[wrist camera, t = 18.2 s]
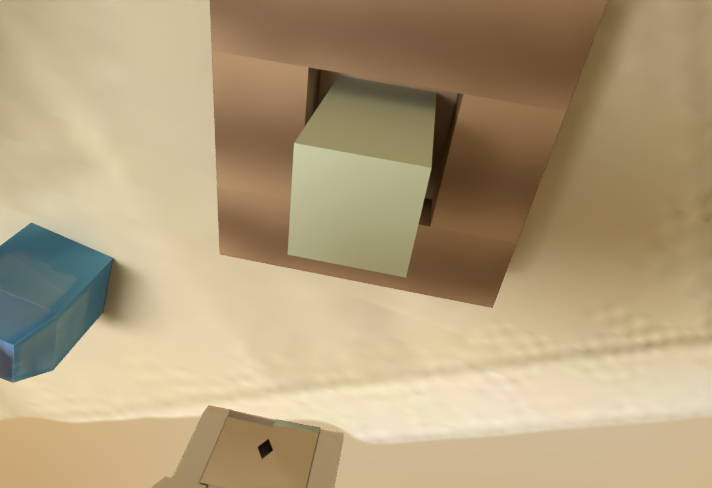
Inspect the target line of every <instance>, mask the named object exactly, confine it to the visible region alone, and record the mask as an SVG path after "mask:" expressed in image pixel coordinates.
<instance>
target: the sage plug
mask: <svg viewBox="0 0 712 488" xmlns="http://www.w3.org/2000/svg"><path fill="white" fill-rule="evenodd" d="M436 93H437V92H432V91H427V90H421V89H415V88H409V87H403V86H398V85H392V84H386V83H380V82H374V81H369V80H363V79H357V78H351V77H345V76H340V75H339V76H338V78H337V79H336V81H335V82H334V84H333V85H332V87H331V88H330V90H329V91H328V93H327V94H326V96H325V97H324V99H323V100H322V102H321V103H320V105H319V106H318V108H317V109H316V111H315V112H314V114H313V115H312V117H311V118H310V120H309V121H308V123H307V124H306V126H305V127H304V129H303V130H302V132H301V133H300V135H299V136H298V138H297V139H296V141H295V142H294V152H293V170H292V187H291V204H290V222H289V239H288V255H292V256H297V257H303V258H308V259H313V260H318V261H323V262H328V263H333V264H339V265H344V266H349V267H354V268H359V269H364V270H369V271H374V272H380V273H385V274H390V275H395V276H400V277H405V278H406V276H407V271H408V267H409V263H410V258H411V254H412V250H413V245H414V241H415V237H416V233H417V228H418V224H419V220H420V215H421V211H422V207H423V202H424V198H425V194H426V190H427V185H428V181H429V177H430V172H431V168H432V153H433V138H434V123H435V108H436Z"/></svg>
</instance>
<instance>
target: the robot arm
mask: <svg viewBox="0 0 712 488" xmlns="http://www.w3.org/2000/svg"><path fill="white" fill-rule="evenodd" d="M343 438H344V433H341V432H337V431H331V430H326V429H321V428H319V427H313V426H308V425H303V424H298V423H292V422H287V421H282V420H277V419H276V420H275V419H270V418H265V417H261V416H256V415H251V414H246V413H242V412H237V411H233V410H230V409H225V408H219V407H214V406H208V407H207V408H206V410H205V411H204V412H203V414H202V416H201V418H200V420H199V422H198V425H197V427H196V429H195V431H194V433H193V435H192V437H191V440H190V442H189V444H188V446H187V448H186V450H185V452H184V454H183V456H182V458H181V461H180V463H179V465H178V467H177V469H176V472H175V473H174V475H173V478H171V477H164V478H163V479H162V480H160V481H159V482H158V483H156V484H155V485H154V486H152V487H151V488H334V487H335V481H336V476H337V470H338V465H339V460H340V455H341V449H342V444H343Z"/></svg>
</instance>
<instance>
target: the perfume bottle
mask: <svg viewBox="0 0 712 488" xmlns="http://www.w3.org/2000/svg"><path fill="white" fill-rule="evenodd" d="M112 261H113V258H112V257H109V256H107V255H105V254H102V253H100V252H98V251H95V250H93V249H91V248H89V247H86V246H84V245H82V244H79V243H77V242H75V241H72V240H70V239H68V238H65V237H63V236H61V235H59V234H56V233H54V232H52V231H49V230H47V229H45V228H42V227H40V226H38V225H36V224H33V223H30V224H29V225H28V226H26V227H25V228H24V229H22V230H21V231H19V232H18V233H17V234H15V235H14V236H13V237H11V238H10V239H9V240H7V241H6V242H5V243H3V244H2V245H1V246H0V378H2V379H4V380H7V381H9V382H12V383H13V382H17V381H20V380H23V379H26V378H30V377H33V376H36V375H39V374H43V373H46V372H49V371H52V370H54V369H55V367H56V366H57V365H58V364H59V363H60V362H61V360H62V359H63V358H64V357H65V356H66V355H67V354H68V352H69V351H70V350H71V349H72V348H73V347H74V345H75V344H76V343H77V342H78V341H79V340H80V338H81V337H82V336H83V335H84V334H85V333H86V332H87V330H88V329H89V328H90V327H91V326H92V325H93V323H94V322H95V321H96V320H97V319H98V318H99V316H100V315H101V314H102V313H103V309H104V304H105V299H106V293H107V288H108V283H109V277H110V272H111V267H112Z"/></svg>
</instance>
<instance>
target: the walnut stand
mask: <svg viewBox="0 0 712 488" xmlns="http://www.w3.org/2000/svg"><path fill="white" fill-rule="evenodd" d="M607 2H608V0H210V16H211V42H212V68H213V94H214V119H215V145H216V171H217V197H218V222H219V248H220V254H221V255H226V256H231V257H236V258H241V259H246V260H251V261H256V262H261V263H266V264H272V265H277V266H282V267H287V268H292V269H297V270H302V271H307V272H312V273H317V274H323V275H328V276H333V277H338V278H343V279H348V280H353V281H358V282H363V283H368V284H374V285H379V286H384V287H389V288H394V289H399V290H404V291H409V292H414V293H419V294H424V295H430V296H435V297H440V298H445V299H450V300H455V301H460V302H465V303H470V304H475V305H481V306H486V307H491V308H493V305H494V303H495V300H496V297H497V295H498V292H499V289H500V287H501V284H502V281H503V279H504V276H505V273H506V271H507V268H508V265H509V263H510V260H511V257H512V255H513V252H514V249H515V247H516V244H517V241H518V239H519V236H520V233H521V231H522V228H523V225H524V223H525V220H526V217H527V215H528V212H529V209H530V207H531V204H532V201H533V199H534V196H535V193H536V191H537V188H538V186H539V183H540V180H541V178H542V175H543V172H544V170H545V167H546V164H547V162H548V159H549V156H550V154H551V151H552V148H553V146H554V143H555V140H556V138H557V135H558V132H559V130H560V127H561V124H562V122H563V119H564V116H565V114H566V111H567V108H568V106H569V103H570V100H571V98H572V95H573V92H574V90H575V87H576V84H577V82H578V79H579V76H580V74H581V71H582V68H583V66H584V63H585V60H586V58H587V55H588V52H589V50H590V47H591V44H592V42H593V39H594V36H595V34H596V31H597V28H598V26H599V23H600V21H601V18H602V15H603V13H604V10H605V7H606V5H607ZM339 75H340V76H345V77H351V78H357V79H363V80H369V81H374V82H380V83H386V84H392V85H398V86H403V87H409V88H415V89H421V90H427V91H432V92H437V93H436V108H435V123H434V138H433V153H432V168H431V172H430V177H429V181H428V185H427V190H426V194H425V198H424V202H423V207H422V211H421V215H420V220H419V224H418V228H417V233H416V237H415V241H414V245H413V250H412V254H411V258H410V263H409V267H408V271H407V276H406V278H405V277H400V276H395V275H390V274H385V273H380V272H374V271H369V270H364V269H359V268H354V267H349V266H344V265H339V264H333V263H328V262H323V261H318V260H313V259H308V258H303V257H297V256H292V255H288V239H289V222H290V204H291V187H292V170H293V152H294V142H295V141H296V139H297V138H298V136H299V135H300V133H301V132H302V130H303V129H304V127H305V126H306V124H307V123H308V121H309V120H310V118H311V117H312V115H313V114H314V112H315V111H316V109H317V108H318V106H319V105H320V103H321V102H322V100H323V99H324V97H325V96H326V94H327V93H328V91H329V90H330V88H331V87H332V85H333V84H334V82H335V81H336V79H337V78H338V76H339Z"/></svg>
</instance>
